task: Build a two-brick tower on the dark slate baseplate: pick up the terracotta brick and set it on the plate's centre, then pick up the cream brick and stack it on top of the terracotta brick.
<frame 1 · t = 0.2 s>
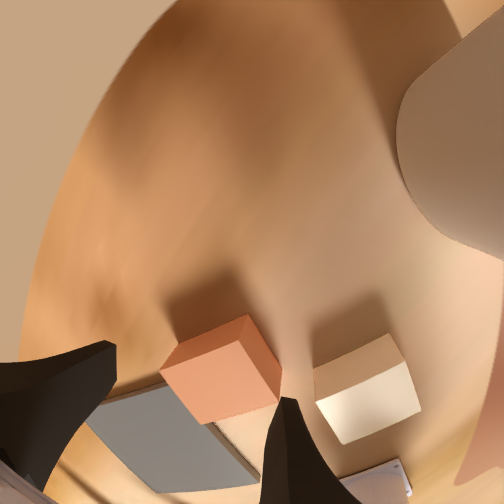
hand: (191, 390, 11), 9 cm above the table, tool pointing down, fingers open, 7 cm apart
terracotta brick: (229, 356, 21), on the table
cylinder vase: (469, 153, 16), on the table
baseplate: (164, 446, 24), on the table
cream brick: (362, 374, 20), on the table
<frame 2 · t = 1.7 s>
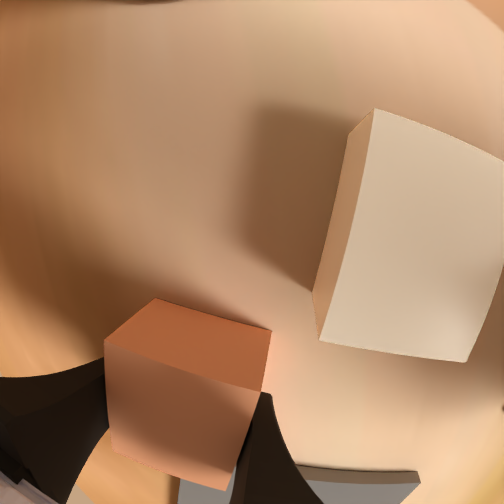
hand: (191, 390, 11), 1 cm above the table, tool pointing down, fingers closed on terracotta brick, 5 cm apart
terracotta brick: (200, 372, 13), on the table, touching gripper
cream brick: (393, 230, 11), on the table
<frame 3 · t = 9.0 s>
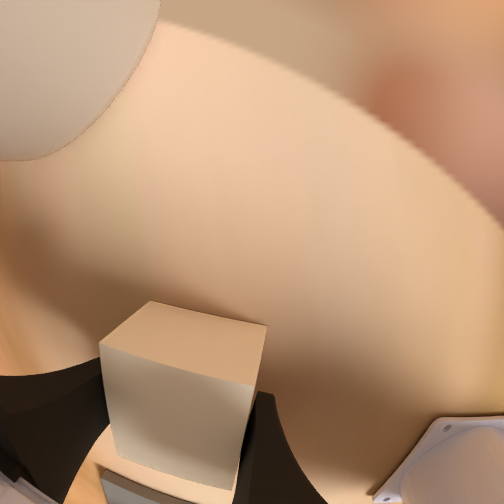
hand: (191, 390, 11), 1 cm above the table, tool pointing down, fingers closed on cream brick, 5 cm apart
cylinder vase: (63, 48, 11), on the table
cream brick: (200, 372, 13), on the table, touching gripper
when the fingers open (7 cm above the table, at t = 13.2 s): cream brick stays where it is, resting on terracotta brick.
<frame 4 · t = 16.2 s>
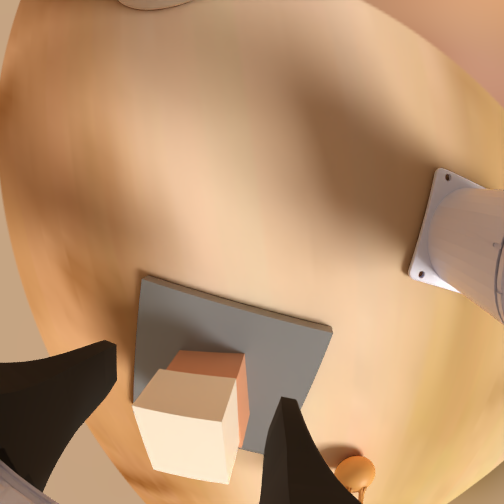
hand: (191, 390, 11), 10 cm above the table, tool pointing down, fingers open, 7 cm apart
terracotta brick: (215, 384, 22), point 1 cm above the table, touching baseplate, cream brick
baseplate: (218, 378, 23), on the table
cream brick: (200, 409, 18), point 5 cm above the table, touching terracotta brick
figurine: (349, 464, 24), on the table
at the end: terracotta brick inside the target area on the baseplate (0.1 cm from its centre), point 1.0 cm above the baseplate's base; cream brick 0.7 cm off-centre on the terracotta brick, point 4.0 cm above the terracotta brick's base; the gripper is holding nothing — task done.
